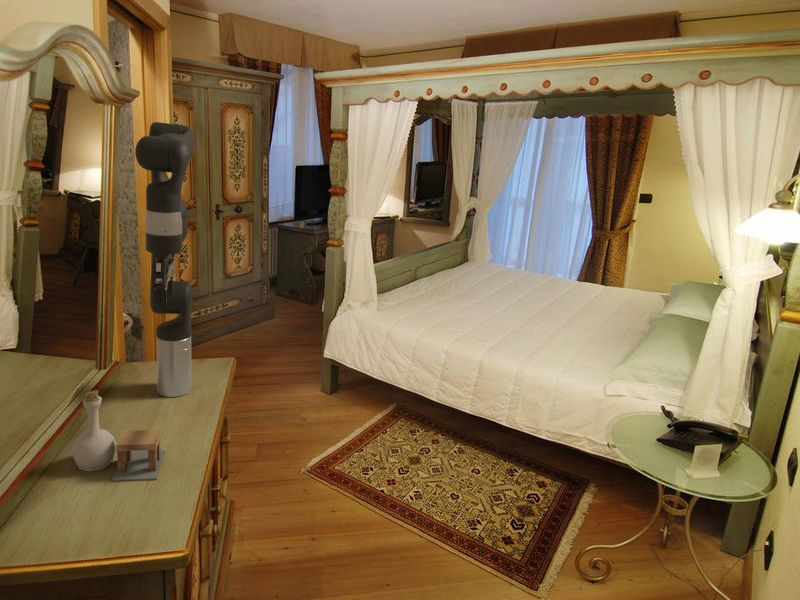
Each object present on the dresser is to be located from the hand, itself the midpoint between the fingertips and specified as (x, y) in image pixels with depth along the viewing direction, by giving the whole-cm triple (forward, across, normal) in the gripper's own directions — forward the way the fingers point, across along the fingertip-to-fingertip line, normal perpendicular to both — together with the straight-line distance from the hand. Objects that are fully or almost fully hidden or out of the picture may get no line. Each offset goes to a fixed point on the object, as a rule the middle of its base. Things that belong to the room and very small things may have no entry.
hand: (164, 299), depth 125 cm
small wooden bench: (+36, -12, +4) cm, 38 cm away
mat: (+36, -12, +4) cm, 38 cm away
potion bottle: (+36, -10, +13) cm, 40 cm away
